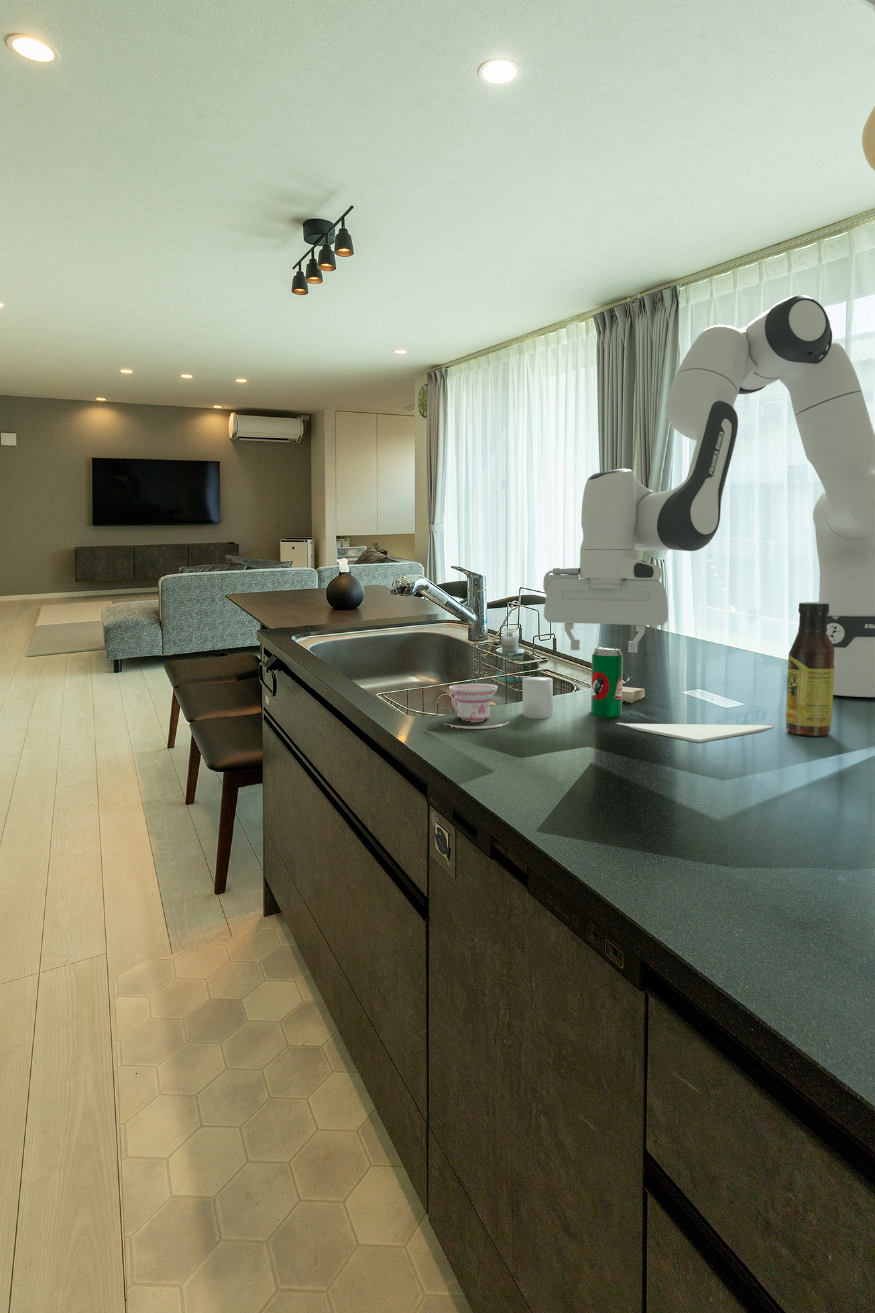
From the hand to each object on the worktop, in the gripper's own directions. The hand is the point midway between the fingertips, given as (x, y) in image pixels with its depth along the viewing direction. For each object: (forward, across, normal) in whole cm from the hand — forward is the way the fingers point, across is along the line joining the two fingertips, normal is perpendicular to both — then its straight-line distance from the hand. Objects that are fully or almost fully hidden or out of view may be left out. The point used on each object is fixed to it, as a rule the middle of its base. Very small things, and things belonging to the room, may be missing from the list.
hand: (603, 651), depth 124 cm
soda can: (+12, +1, 0) cm, 12 cm away
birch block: (+12, +4, +10) cm, 16 cm away
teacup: (+12, -20, -8) cm, 25 cm away
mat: (+11, +14, -4) cm, 18 cm away
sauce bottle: (+11, +31, -6) cm, 33 cm away
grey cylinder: (+12, -10, -4) cm, 16 cm away
